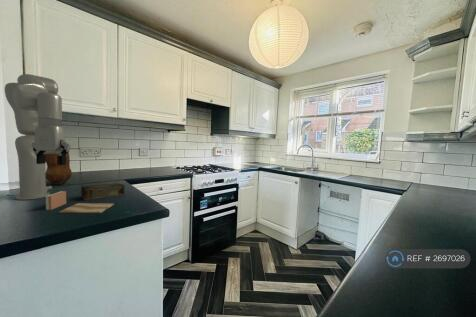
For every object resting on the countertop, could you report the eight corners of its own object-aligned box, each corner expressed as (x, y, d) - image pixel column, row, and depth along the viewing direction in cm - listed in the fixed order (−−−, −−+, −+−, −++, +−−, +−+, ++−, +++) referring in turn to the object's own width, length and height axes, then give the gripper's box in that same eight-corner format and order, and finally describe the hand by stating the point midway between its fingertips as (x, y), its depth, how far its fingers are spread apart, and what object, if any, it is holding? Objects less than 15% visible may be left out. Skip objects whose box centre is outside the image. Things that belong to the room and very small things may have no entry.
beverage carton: (125, 195, 115) (125, 183, 114) (83, 201, 101) (83, 188, 100) (120, 192, 120) (120, 181, 120) (80, 198, 106) (80, 185, 106)
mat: (77, 204, 95) (77, 203, 95) (114, 204, 97) (114, 203, 97) (58, 213, 83) (58, 211, 83) (100, 213, 85) (100, 211, 85)
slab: (61, 203, 96) (61, 191, 95) (66, 203, 96) (65, 191, 96) (46, 209, 87) (45, 196, 86) (51, 209, 87) (50, 196, 87)
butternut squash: (47, 183, 136) (46, 146, 134) (72, 181, 144) (72, 146, 142) (43, 187, 124) (42, 146, 123) (71, 185, 133) (71, 147, 131)
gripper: (21, 121, 81) (23, 164, 83) (60, 123, 79) (61, 166, 81) (41, 123, 89) (42, 162, 90) (77, 125, 87) (77, 164, 88)
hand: (51, 164), depth 85 cm, fingers open, 9 cm apart
